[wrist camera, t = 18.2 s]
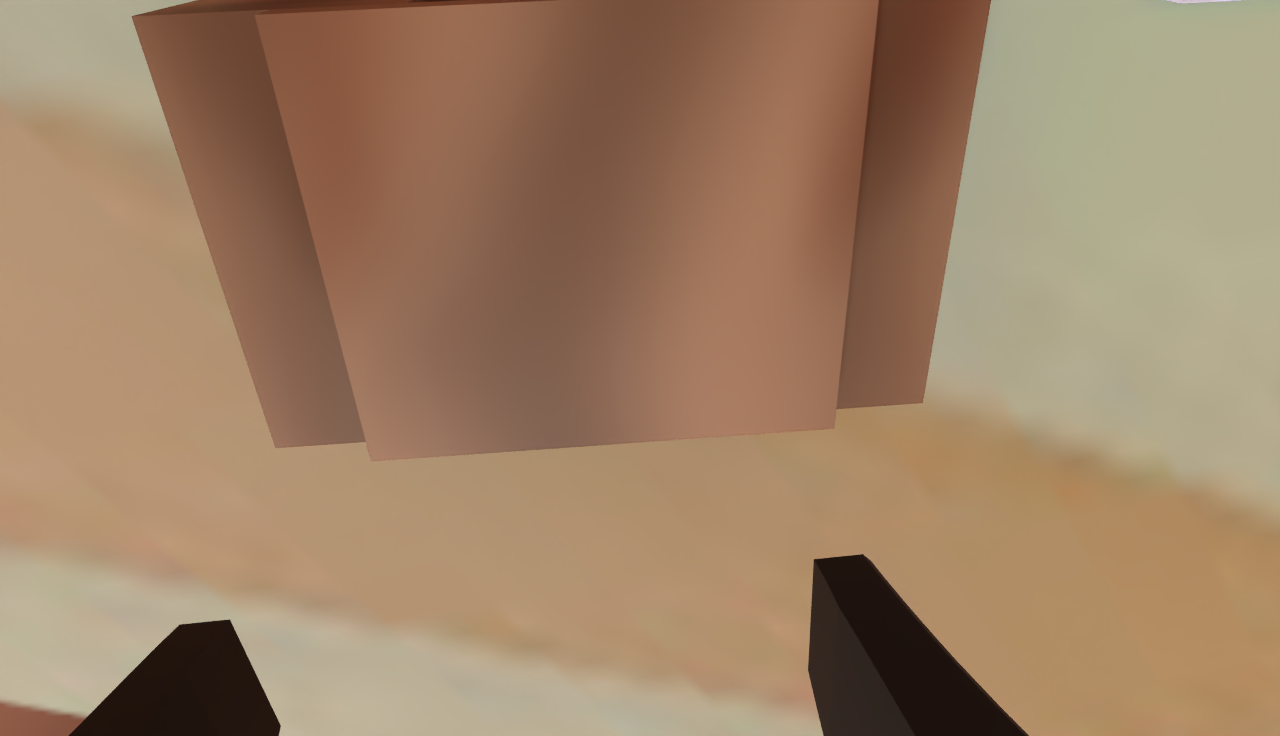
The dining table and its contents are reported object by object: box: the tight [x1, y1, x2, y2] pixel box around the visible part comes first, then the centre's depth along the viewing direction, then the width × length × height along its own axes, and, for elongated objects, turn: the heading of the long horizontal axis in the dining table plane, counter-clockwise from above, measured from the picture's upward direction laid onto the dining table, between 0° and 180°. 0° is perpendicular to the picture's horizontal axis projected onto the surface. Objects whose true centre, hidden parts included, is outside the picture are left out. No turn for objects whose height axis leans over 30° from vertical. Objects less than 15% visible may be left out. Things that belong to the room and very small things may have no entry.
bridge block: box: [132, 0, 991, 461], centre depth 13 cm, size 12×15×5 cm
